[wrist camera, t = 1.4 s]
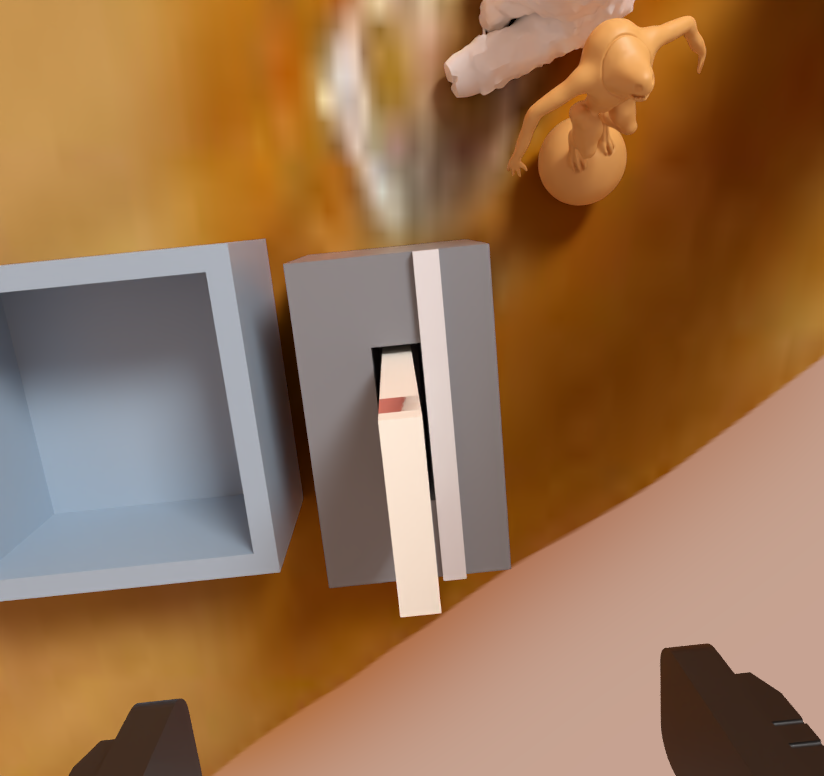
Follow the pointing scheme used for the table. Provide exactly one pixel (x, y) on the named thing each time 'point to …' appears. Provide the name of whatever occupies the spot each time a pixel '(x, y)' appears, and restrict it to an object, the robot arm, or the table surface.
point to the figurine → (599, 108)
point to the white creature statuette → (525, 39)
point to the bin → (143, 421)
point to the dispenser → (438, 393)
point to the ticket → (407, 484)
